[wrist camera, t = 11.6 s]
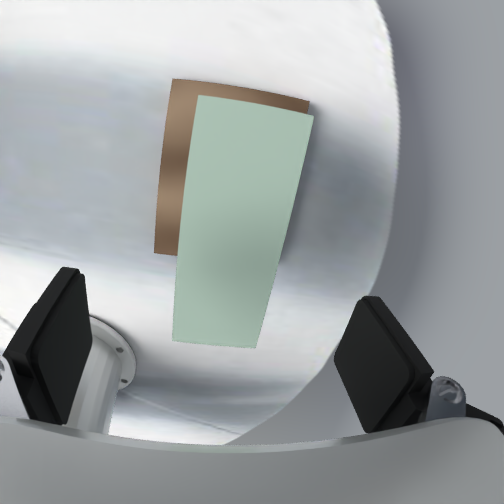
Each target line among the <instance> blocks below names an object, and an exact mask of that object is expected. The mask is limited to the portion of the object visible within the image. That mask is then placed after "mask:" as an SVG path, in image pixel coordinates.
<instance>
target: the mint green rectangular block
mask: <svg viewBox="0 0 504 504" xmlns="http://www.w3.org/2000/svg"><path fill="white" fill-rule="evenodd" d="M313 119H314V116H312V115H308V114H304V113H299V112H295V111H290V110H286V109H281V108H276V107H271V106H266V105H261V104H256V103H250V102H244V101H238V100H232V99H226V98H219V97H212V96H204V95H198V100H197V106H196V112H195V118H194V124H193V130H192V137H191V143H190V150H189V157H188V164H187V172H186V180H185V188H184V196H183V205H182V214H181V223H180V233H179V244H178V255H177V267H176V281H175V296H174V313H173V334H172V341H176V342H185V343H195V344H205V345H216V346H229V347H243V348H256V345H257V341H258V338H259V334H260V330H261V327H262V323H263V320H264V316H265V312H266V308H267V305H268V301H269V297H270V294H271V290H272V286H273V282H274V279H275V275H276V271H277V267H278V263H279V259H280V256H281V252H282V248H283V244H284V240H285V236H286V232H287V228H288V224H289V220H290V216H291V212H292V208H293V204H294V200H295V196H296V192H297V188H298V184H299V179H300V175H301V171H302V167H303V163H304V158H305V154H306V150H307V146H308V141H309V137H310V133H311V128H312V124H313Z"/></svg>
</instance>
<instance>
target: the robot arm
mask: <svg viewBox="0 0 504 504" xmlns="http://www.w3.org/2000/svg"><path fill="white" fill-rule="evenodd" d="M334 362H335V365H336V368H337V370H338V372H339V374H340V377H341V379H342V381H343V383H344V386H345V388H346V390H347V393H348V395H349V397H350V400H351V402H352V404H353V406H354V409H355V411H356V413H357V415H358V418H359V420H360V423H361V425H362V427H363V430H364V431H365V432H366V433H368V434H364V435H358V436H351V437H344V438H338V439H329V440H321V441H311V442H301V443H288V444H272V445H198V444H181V443H168V442H157V441H148V440H140V439H132V438H125V437H119V436H112V435H108V433H109V428H110V423H111V418H112V413H113V408H114V404H115V399H116V395H117V391H118V390H120V389H123V388H125V387H126V386H128V385H129V384H130V383H131V381H132V380H133V378H134V375H135V371H136V359H135V356H134V353H133V351H132V349H131V348H130V346H129V344H128V343H127V342H126V341H125V340H124V338H123V337H122V336H121V335H120V334H118V333H117V332H116V331H115V330H114V329H112V328H111V327H109V326H108V325H106V324H105V323H103V322H101V321H99V320H97V319H95V318H93V317H90V316H89V310H88V302H87V294H86V284H85V276H84V274H80V271H79V269H76V268H69V267H62V268H61V269H60V270H59V271H58V273H57V274H56V276H55V277H54V278H53V280H52V281H51V283H50V284H49V285H48V287H47V288H46V290H45V291H44V292H43V294H42V295H41V297H40V298H39V300H38V301H37V303H35V304H34V305H33V306H32V308H31V309H30V311H29V312H28V314H27V316H26V317H25V319H24V320H23V322H22V323H21V325H20V326H19V328H18V330H17V331H16V333H15V335H14V336H13V338H12V340H11V341H10V343H9V345H8V346H7V348H6V350H5V351H4V353H3V355H2V356H1V355H0V504H504V426H503V423H502V421H501V420H500V419H498V418H496V417H494V416H492V415H490V414H488V413H486V412H483V411H481V410H479V409H477V408H475V407H473V406H471V405H469V404H466V394H465V392H464V389H463V388H462V387H461V386H460V384H459V383H457V382H456V381H455V380H453V379H451V378H449V377H445V376H440V377H436V378H435V379H434V380H433V381H432V380H431V379H430V377H431V376H432V374H433V373H434V371H433V369H432V368H431V366H430V365H429V364H428V362H427V360H426V359H425V358H424V356H423V355H422V353H421V352H420V351H419V349H418V348H417V346H416V345H415V344H414V342H413V341H412V340H411V338H410V337H409V336H408V334H407V333H406V331H405V330H404V329H403V327H402V326H401V325H400V323H399V322H398V321H397V319H396V318H395V317H394V315H393V314H392V313H391V311H390V310H389V309H388V307H387V306H386V305H385V303H384V302H383V301H382V300H381V298H380V297H376V296H364V297H362V299H361V300H359V301H358V302H357V304H356V306H355V308H354V311H353V313H352V316H351V318H350V320H349V323H348V325H347V328H346V330H345V332H344V334H343V337H342V339H341V341H340V343H339V346H338V348H337V350H336V352H335V356H334Z"/></svg>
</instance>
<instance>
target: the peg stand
mask: <svg viewBox="0 0 504 504" xmlns="http://www.w3.org/2000/svg"><path fill="white" fill-rule="evenodd" d="M198 95H204V96H212V97H219V98H226V99H232V100H238V101H244V102H250V103H256V104H261V105H266V106H271V107H276V108H281V109H286V110H290V111H295V112H299V113H304V114H307V111H308V107H309V102H310V101H306V100H302V99H298V98H293V97H289V96H285V95H280V94H275V93H270V92H265V91H260V90H254V89H249V88H243V87H237V86H230V85H224V84H217V83H209V82H201V81H192V80H182V79H173V80H172V86H171V92H170V98H169V104H168V111H167V118H166V125H165V132H164V140H163V148H162V157H161V166H160V176H159V186H158V198H157V211H156V226H155V244H154V253H158V254H166V255H174V256H177V255H178V244H179V233H180V223H181V214H182V205H183V196H184V188H185V180H186V172H187V164H188V157H189V150H190V143H191V137H192V130H193V124H194V118H195V112H196V106H197V100H198Z"/></svg>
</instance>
